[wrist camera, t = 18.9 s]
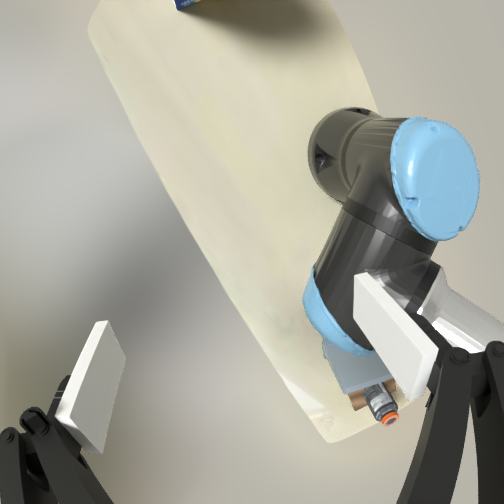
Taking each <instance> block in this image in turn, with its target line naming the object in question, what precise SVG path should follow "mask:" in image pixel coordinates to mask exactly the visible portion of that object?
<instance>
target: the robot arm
mask: <svg viewBox="0 0 504 504" xmlns="http://www.w3.org/2000/svg"><path fill="white" fill-rule="evenodd" d="M308 162H309V167H310V170H311V173H312V175H313V177H314V179H315V181H316V182H317V184H318V185H319V186H320V188H321V189H322V190H323V191H325V192H326V193H327V194H328V195H330V196H332V197H333V198H335V199H337V200H339V201H341V202H344V205H343V207H342V208H341V211H340V213H339V215H338V217H337V220H336V222H335V224H334V226H333V229H332V231H331V233H330V235H329V237H328V240H327V242H326V244H325V246H324V248H323V250H322V252H321V254H320V256H319V258H318V260H317V262H316V263H315V264H314V266H313V267H312V270H311V276H310V278H309V281H308V283H307V285H306V287H305V290H304V293H303V305H304V308H305V312H306V315H307V317H308V319H309V320H310V322H311V323H312V325H313V326H314V327H315V329H316V330H317V331H318V332H319V333H320V334H321V335H322V336H323V337H324V338H325V339H326V340H327V341H328V342H330V343H331V344H332V345H334V346H335V347H337V348H338V349H340V350H342V351H344V352H346V353H351V352H352V353H353V355H355V356H358V357H367V356H370V355H372V354H374V353H376V352H377V353H378V355H379V356H380V358H381V359H382V361H383V362H384V364H385V365H386V367H387V368H388V370H389V371H390V373H391V374H392V376H393V377H394V379H395V380H396V382H397V384H398V385H399V387H400V388H401V390H402V391H403V393H404V394H405V396H406V397H407V399H408V401H411V400H414V399H416V398H418V397H421V396H423V395H424V393H425V390H426V387H428V388H429V390H430V391H431V394H430V396H429V399H428V401H427V404H426V406H425V407H427V410H426V414H425V418H424V422H423V426H422V430H421V433H420V437H419V440H418V444H417V447H416V450H415V454H414V457H413V460H412V463H411V466H410V469H409V472H408V474H407V477H406V480H405V483H404V486H403V488H402V491H401V493H400V496H399V498H398V500H397V503H396V504H450V502H451V499H452V495H453V492H454V488H455V484H456V480H457V476H458V472H459V468H460V463H461V458H462V453H463V448H464V442H465V436H466V430H467V422H468V415H469V406H471V412H472V418H473V425H474V433H475V443H476V453H477V467H478V496H479V497H478V501H479V502H478V504H504V324H503V323H502V322H500V321H499V320H497V319H496V318H495V317H493V316H491V315H490V314H489V313H487V312H486V311H484V310H483V309H481V308H480V307H478V306H477V305H475V304H474V303H472V302H471V301H469V300H468V299H466V298H465V297H463V296H461V295H460V294H458V293H457V292H455V291H454V290H452V289H451V288H450V287H449V286H448V284H447V280H446V276H445V273H444V269H443V267H441V266H440V265H438V264H436V263H435V262H433V261H431V259H430V258H431V256H432V253H433V251H434V249H435V247H436V245H437V243H438V241H446V240H449V239H452V238H454V237H456V236H457V235H458V231H463V230H464V229H465V228H466V227H467V226H468V224H469V223H470V221H471V219H472V217H473V215H474V213H475V210H476V207H477V203H478V199H479V189H480V178H479V170H478V168H477V166H476V158H475V156H474V153H473V150H472V148H471V147H470V145H469V143H468V142H467V140H466V139H465V137H463V135H462V134H461V133H460V132H459V131H458V130H457V129H455V128H454V127H452V126H451V125H449V124H447V123H444V122H441V121H436V120H430V119H427V118H422V117H412V118H383V117H381V116H380V115H378V114H377V113H375V112H373V111H370V110H368V109H364V108H358V107H350V108H342V109H338V110H335V111H333V112H331V113H329V114H328V115H326V116H325V117H324V118H323V119H322V120H321V121H320V122H319V123H318V124H317V126H316V127H315V129H314V131H313V133H312V135H311V138H310V141H309V146H308ZM125 362H126V357H125V355H124V353H123V351H122V349H121V347H120V345H119V343H118V341H117V339H116V337H115V334H114V332H113V330H112V328H111V326H110V323H109V321H101V322H96V324H95V326H94V328H93V330H92V332H91V334H90V336H89V338H88V340H87V342H86V344H85V346H84V349H83V351H82V353H81V355H80V357H79V359H78V361H77V364H76V366H75V368H74V370H73V373H72V375H67V376H66V377H65V378H64V379H63V380H62V382H61V383H60V385H59V387H58V390H57V392H56V394H55V398H54V399H53V401H52V404H51V406H50V409H49V411H48V414H47V416H46V415H45V414H44V412H43V411H42V410H41V409H40V408H38V407H31V408H28V409H27V410H26V411H24V413H23V414H22V415H21V417H20V425H21V426H22V427H23V428H24V429H25V431H26V433H22V434H20V433H19V432H18V431H17V430H16V429H15V428H13V427H8V428H6V429H4V430H3V431H2V433H1V434H0V498H1V504H58V502H59V504H114V503H113V502H112V500H111V499H110V498H109V496H108V495H107V493H106V492H105V490H104V489H103V487H102V486H101V484H100V483H99V481H98V480H97V478H96V477H95V475H94V474H93V472H92V470H91V469H90V467H89V465H88V464H87V462H86V460H85V459H84V457H83V456H82V455H81V454H80V451H81V447H82V448H83V449H84V450H85V451H86V452H87V453H88V454H100V455H102V454H103V449H104V444H105V440H106V436H107V431H108V426H109V423H110V418H111V414H112V410H113V406H114V402H115V398H116V395H117V391H118V387H119V383H120V379H121V376H122V372H123V369H124V365H125Z"/></svg>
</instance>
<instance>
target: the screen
mask: <svg viewBox="0 0 504 504" xmlns="http://www.w3.org/2000/svg"><path fill="white" fill-rule="evenodd" d="M322 349H323V351H324V358H325V359H327V360H328V362H329V364H330V366H331V368H332V370H333V372H334V374H335V377H336V379H337V381H338V383H339V385H340V387H341V389H342V391H343V393H344V394H347V393H350V392H354V391H357V390H360V389H363V388H366V387H369V386H372V385H375V384H378V383H381V382H384V381H386V380H389V379H392V378H394V377H393V376H392V374H391V373H390V371H389V370H388V368H387V367H386V365H385V364H384V362H383V361H382V359H381V358H380V356H379V355H378V353H377V352H376V353H374V354H372V355H370V356H367V357H358V356H355V355H353V353H352V352H351V353H346V352H344V351H342V350H340V349H338V348H337V347H335V346H334V345H332V344H331V343H330V342H328V341H327V340H326V339H325V338H324V337H323V343H322Z"/></svg>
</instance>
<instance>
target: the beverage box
mask: <svg viewBox="0 0 504 504" xmlns="http://www.w3.org/2000/svg"><path fill="white" fill-rule="evenodd" d="M172 1H173V3H174V5H175V6H176V8H177V10H179V9H182V8H184V7H186V6H189V5H191V4H193V3H196V2H198V1H201V0H172Z"/></svg>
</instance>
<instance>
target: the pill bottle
mask: <svg viewBox="0 0 504 504" xmlns="http://www.w3.org/2000/svg"><path fill="white" fill-rule="evenodd" d="M363 397H364V399H365V401H366V402H367V404H368V406H369V408H370V410H371V412H372V414H373V416H374V417H375V419H376V420H377V421H382V424H383V425H384V426H390V425H392V424H394V423H395V422H396V421H397V420H398V419H399V415H398V414H397V410H398V406H397V404H396V402H395V400H394V399H393V397H392V395H391V394H390V392H389V391H388V389H387V387H386V386H385V384H384V383H383V382H381V383H378V384H375V385H372V386H369V387H366V388H365V389H364V390H363Z"/></svg>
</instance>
